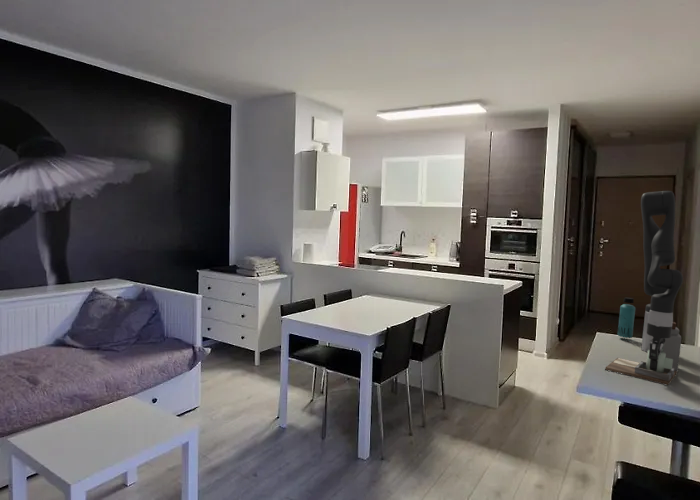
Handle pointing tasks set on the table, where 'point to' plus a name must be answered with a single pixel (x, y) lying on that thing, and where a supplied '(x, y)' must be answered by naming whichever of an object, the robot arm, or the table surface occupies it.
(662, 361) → the pale green rounded piece
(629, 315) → the beverage bottle
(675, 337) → the perfume bottle
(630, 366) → the wooden panel with label
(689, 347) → the table surface
